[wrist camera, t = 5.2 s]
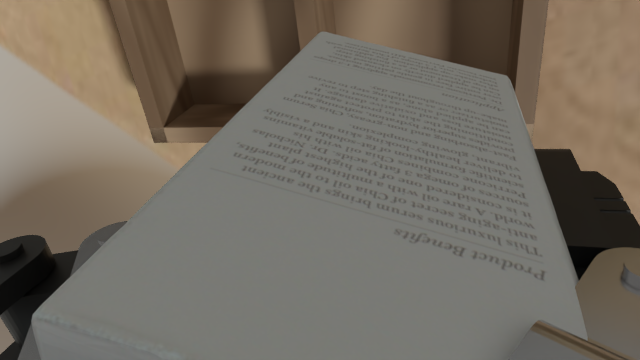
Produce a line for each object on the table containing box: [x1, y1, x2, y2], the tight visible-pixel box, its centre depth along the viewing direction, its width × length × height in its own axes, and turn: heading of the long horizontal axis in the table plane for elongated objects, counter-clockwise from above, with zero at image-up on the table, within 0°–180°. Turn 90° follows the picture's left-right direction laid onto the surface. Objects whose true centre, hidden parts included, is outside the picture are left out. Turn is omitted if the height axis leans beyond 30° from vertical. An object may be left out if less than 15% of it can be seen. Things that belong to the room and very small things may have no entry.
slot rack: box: [109, 0, 549, 143], centre depth 25 cm, size 22×10×5 cm, turn 98°
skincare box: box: [31, 32, 588, 360], centre depth 10 cm, size 6×4×12 cm
